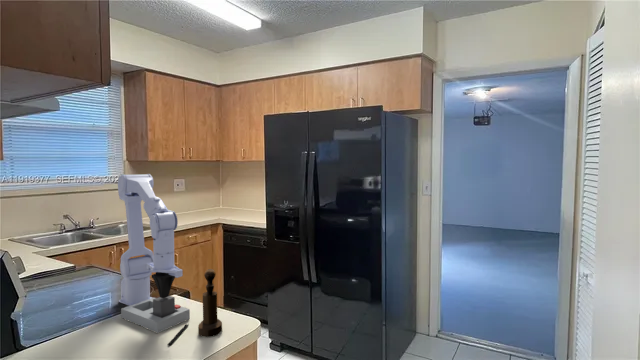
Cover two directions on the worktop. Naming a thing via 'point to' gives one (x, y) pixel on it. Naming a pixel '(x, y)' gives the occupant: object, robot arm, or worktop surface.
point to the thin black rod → (177, 335)
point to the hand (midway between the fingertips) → (164, 296)
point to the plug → (163, 306)
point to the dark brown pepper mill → (210, 309)
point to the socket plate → (153, 316)
